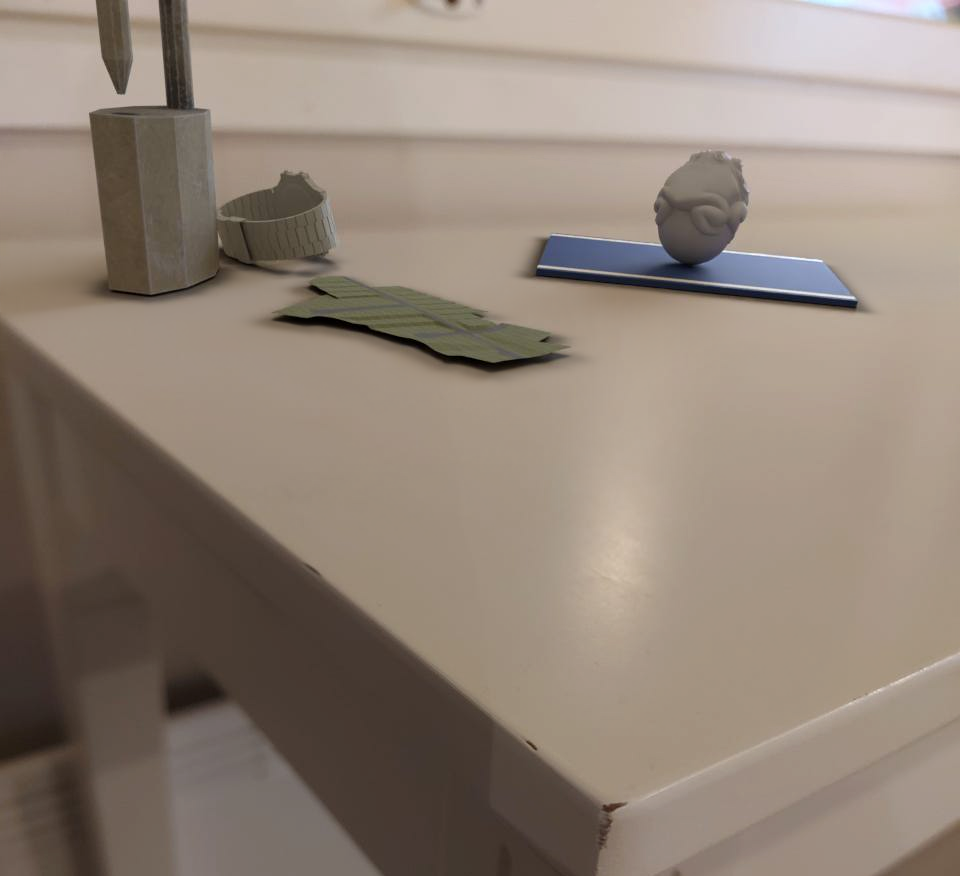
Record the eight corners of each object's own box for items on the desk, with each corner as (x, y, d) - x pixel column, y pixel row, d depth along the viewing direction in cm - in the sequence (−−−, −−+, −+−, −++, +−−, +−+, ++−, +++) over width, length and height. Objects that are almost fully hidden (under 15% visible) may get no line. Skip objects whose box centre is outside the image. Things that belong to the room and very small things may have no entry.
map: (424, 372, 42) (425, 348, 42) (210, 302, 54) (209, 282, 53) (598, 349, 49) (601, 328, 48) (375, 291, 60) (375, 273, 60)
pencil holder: (95, 288, 52) (52, -60, 45) (169, 261, 59) (144, -45, 51) (165, 298, 52) (134, -54, 44) (232, 269, 59) (216, -40, 51)
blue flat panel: (820, 264, 74) (821, 259, 74) (856, 307, 62) (858, 300, 62) (550, 238, 75) (551, 232, 75) (535, 275, 64) (536, 268, 63)
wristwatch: (361, 268, 61) (362, 179, 59) (273, 278, 57) (270, 183, 55) (276, 241, 67) (274, 158, 64) (191, 248, 63) (185, 160, 60)
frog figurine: (754, 266, 69) (777, 155, 66) (706, 278, 65) (728, 158, 61) (677, 250, 72) (695, 143, 69) (626, 260, 68) (642, 146, 64)
